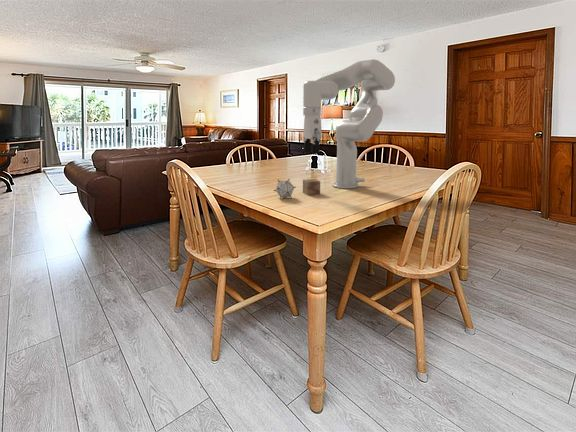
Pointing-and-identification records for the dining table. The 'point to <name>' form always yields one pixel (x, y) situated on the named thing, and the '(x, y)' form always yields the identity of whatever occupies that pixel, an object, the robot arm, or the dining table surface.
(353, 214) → the dining table surface
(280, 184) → the grey spiked ball
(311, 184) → the walnut cube
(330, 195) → the dining table surface
